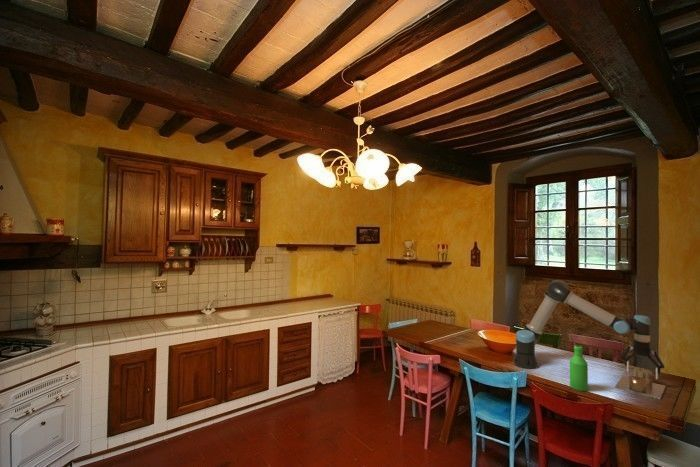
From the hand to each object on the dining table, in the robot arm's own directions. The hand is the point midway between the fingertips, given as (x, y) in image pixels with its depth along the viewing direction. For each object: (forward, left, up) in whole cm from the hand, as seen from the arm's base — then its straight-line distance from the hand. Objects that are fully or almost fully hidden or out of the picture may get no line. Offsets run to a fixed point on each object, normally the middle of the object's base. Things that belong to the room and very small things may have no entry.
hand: (642, 374), depth 206 cm
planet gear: (0, 0, -4) cm, 4 cm away
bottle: (-39, +24, -5) cm, 46 cm away
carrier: (-9, 0, -5) cm, 10 cm away
